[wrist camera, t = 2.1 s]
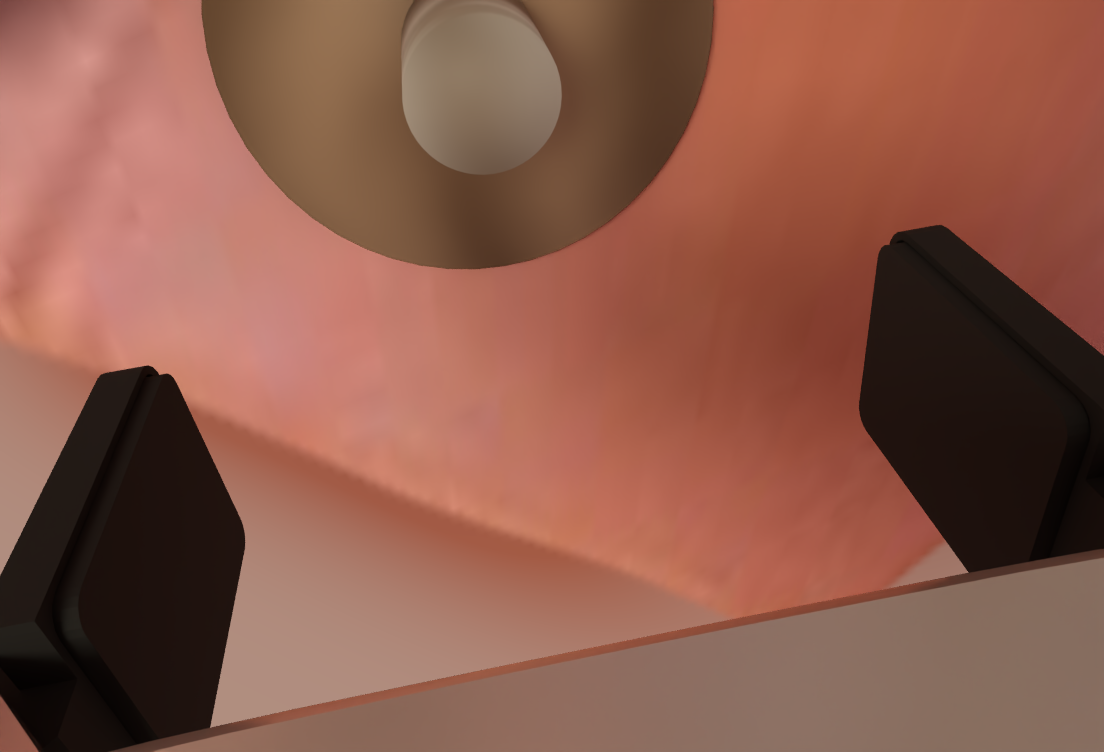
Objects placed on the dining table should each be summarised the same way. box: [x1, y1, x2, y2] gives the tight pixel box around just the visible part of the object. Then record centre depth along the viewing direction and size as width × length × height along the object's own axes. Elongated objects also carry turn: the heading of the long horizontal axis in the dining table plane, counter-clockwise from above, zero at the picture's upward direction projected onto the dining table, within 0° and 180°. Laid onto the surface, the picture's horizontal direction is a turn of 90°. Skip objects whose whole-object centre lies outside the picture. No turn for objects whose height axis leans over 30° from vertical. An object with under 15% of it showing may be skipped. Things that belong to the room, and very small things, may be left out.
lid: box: [202, 0, 713, 269], centre depth 24 cm, size 15×15×6 cm
